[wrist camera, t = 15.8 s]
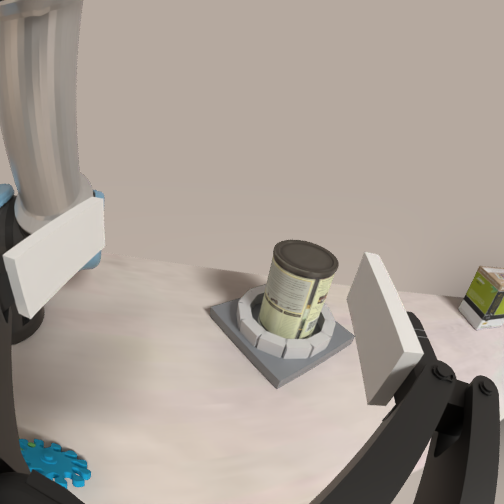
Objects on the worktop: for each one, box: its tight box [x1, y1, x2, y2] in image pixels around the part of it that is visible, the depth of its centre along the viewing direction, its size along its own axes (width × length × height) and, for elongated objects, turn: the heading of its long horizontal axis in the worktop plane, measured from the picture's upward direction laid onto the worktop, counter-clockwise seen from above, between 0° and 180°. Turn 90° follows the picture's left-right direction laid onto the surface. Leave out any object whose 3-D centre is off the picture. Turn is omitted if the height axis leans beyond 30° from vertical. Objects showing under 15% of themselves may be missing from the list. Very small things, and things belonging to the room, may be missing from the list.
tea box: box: [458, 266, 504, 330], centre depth 64 cm, size 15×10×15 cm, turn 96°
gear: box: [19, 439, 91, 489], centre depth 20 cm, size 11×6×10 cm
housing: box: [210, 284, 355, 389], centre depth 53 cm, size 19×19×4 cm
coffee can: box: [258, 240, 338, 339], centre depth 50 cm, size 10×10×14 cm
